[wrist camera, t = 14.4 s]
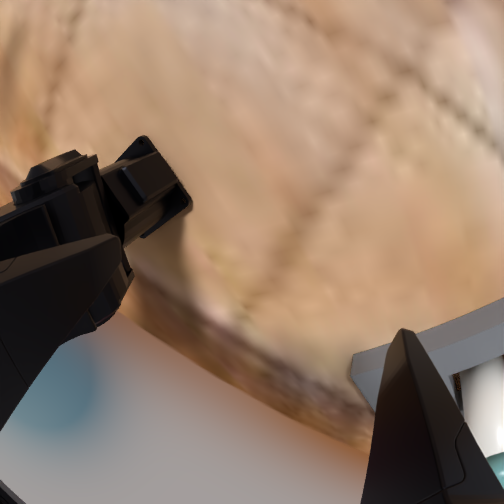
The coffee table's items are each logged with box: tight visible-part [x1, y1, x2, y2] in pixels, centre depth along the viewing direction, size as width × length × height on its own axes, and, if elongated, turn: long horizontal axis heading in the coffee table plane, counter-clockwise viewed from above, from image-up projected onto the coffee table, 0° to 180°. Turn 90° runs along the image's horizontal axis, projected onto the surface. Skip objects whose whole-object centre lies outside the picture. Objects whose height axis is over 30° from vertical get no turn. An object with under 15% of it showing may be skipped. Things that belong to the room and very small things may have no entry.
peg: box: [459, 355, 504, 489], centre depth 17 cm, size 4×4×12 cm
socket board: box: [350, 298, 504, 422], centre depth 22 cm, size 17×13×2 cm
